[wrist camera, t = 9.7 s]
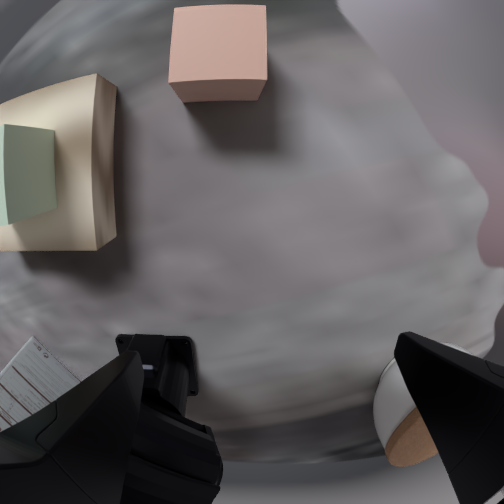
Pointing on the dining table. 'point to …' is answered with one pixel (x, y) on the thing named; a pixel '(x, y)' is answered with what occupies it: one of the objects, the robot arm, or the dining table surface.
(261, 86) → the clay cube
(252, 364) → the dining table surface
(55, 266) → the dining table surface
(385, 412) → the lidded bowl
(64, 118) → the birch block
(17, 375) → the supplement box
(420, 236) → the dining table surface
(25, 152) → the sage cube
